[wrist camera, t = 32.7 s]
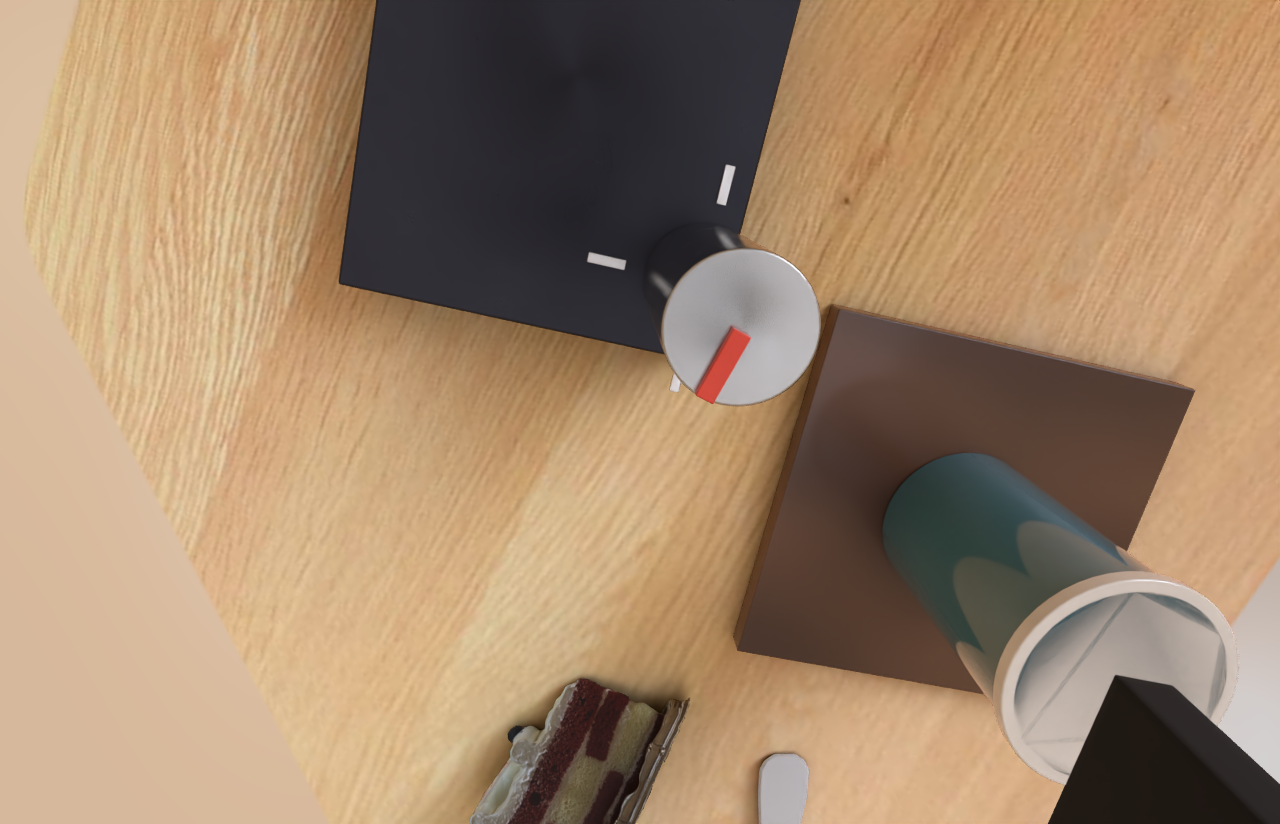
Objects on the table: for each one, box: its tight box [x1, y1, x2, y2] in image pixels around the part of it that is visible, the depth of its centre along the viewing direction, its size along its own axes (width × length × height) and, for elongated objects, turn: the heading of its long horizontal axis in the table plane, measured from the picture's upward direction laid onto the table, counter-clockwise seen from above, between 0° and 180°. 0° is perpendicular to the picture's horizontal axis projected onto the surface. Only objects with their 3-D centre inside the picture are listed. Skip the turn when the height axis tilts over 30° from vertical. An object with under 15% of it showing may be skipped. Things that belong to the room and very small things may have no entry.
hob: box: [339, 0, 801, 392], centre depth 31 cm, size 19×17×3 cm
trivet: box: [733, 304, 1195, 694], centre depth 38 cm, size 16×16×1 cm
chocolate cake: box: [470, 679, 691, 824], centre depth 40 cm, size 10×7×12 cm
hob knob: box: [642, 222, 821, 406], centre depth 27 cm, size 4×4×9 cm
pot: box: [882, 453, 1239, 785], centre depth 32 cm, size 7×7×12 cm
